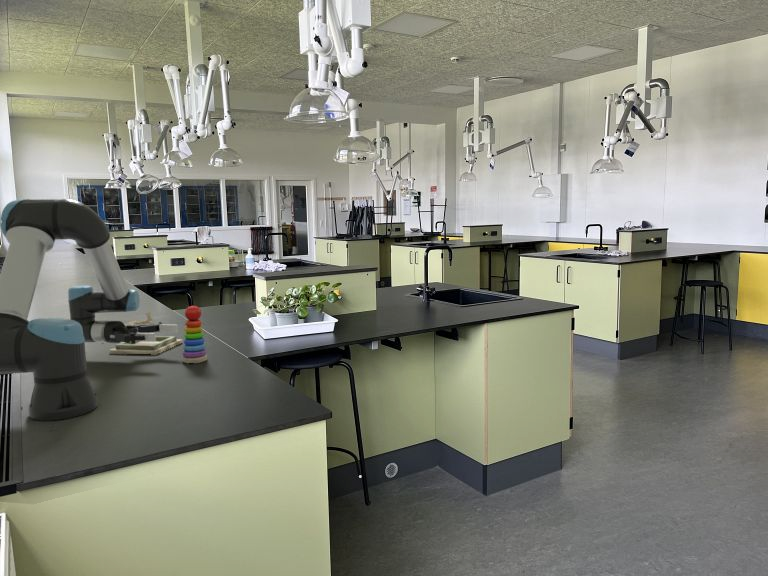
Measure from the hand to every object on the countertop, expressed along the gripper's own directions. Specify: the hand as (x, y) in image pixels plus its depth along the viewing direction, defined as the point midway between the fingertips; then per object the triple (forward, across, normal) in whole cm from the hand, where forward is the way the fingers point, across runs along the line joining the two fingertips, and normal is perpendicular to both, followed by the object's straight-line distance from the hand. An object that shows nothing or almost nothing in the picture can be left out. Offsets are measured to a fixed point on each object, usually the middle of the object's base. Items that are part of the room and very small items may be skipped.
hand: (166, 332), depth 187 cm
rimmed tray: (-17, -15, -10) cm, 25 cm away
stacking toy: (+10, 0, -10) cm, 14 cm away
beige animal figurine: (-40, -45, -10) cm, 61 cm away
